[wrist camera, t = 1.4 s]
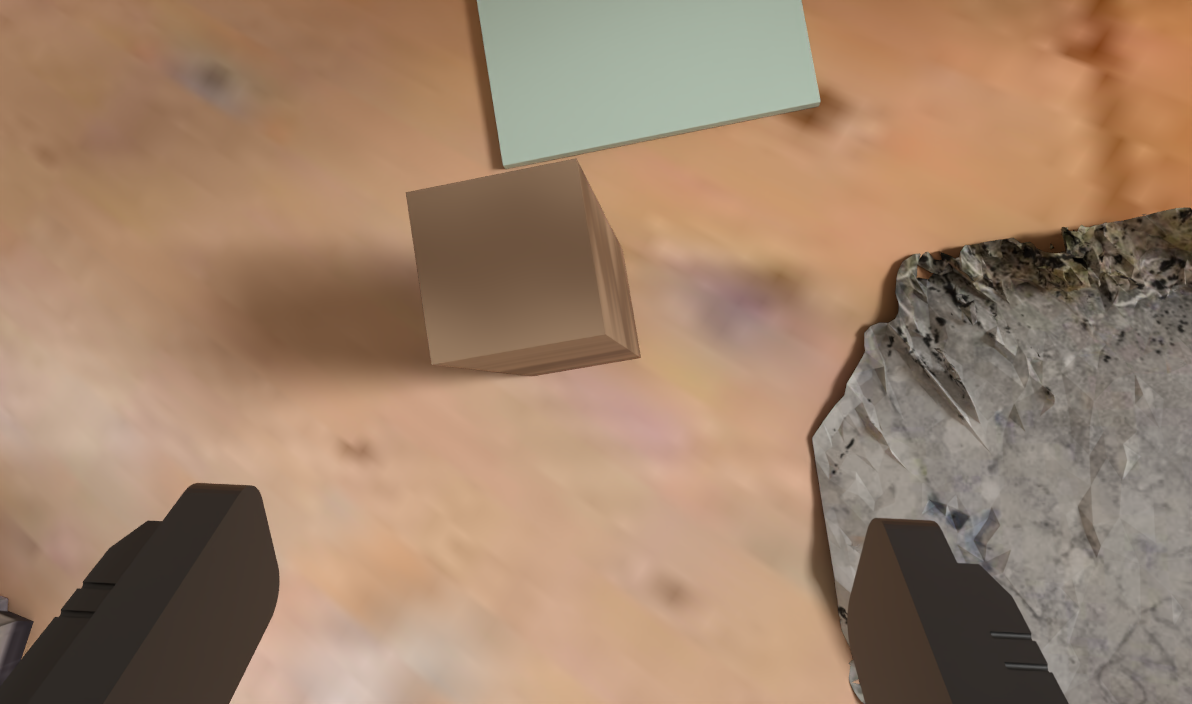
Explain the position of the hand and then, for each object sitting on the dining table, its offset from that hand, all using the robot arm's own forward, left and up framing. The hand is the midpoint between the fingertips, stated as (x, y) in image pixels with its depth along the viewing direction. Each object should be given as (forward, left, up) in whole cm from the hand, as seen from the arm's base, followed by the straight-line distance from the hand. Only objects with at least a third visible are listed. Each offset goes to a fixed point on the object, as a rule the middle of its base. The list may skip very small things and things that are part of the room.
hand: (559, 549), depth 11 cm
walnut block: (+1, -6, -22) cm, 23 cm away
